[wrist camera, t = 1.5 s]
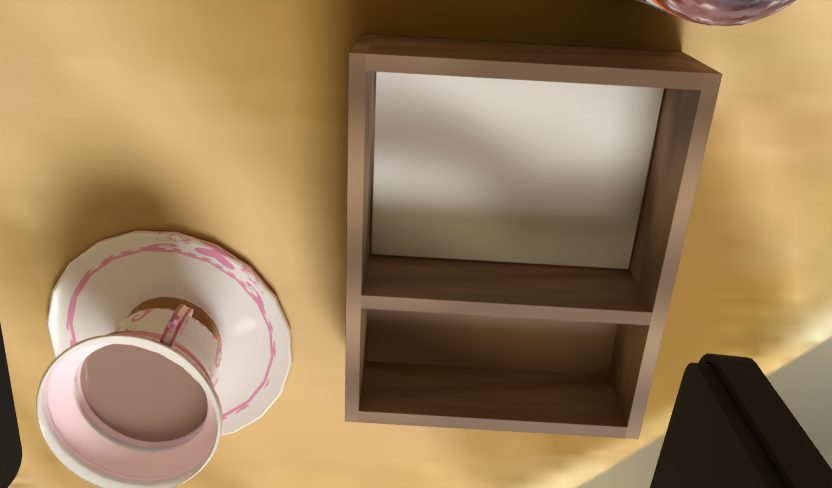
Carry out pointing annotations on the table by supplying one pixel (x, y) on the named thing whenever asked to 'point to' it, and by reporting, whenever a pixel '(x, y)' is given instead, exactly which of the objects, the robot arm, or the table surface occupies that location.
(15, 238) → the table surface
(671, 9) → the supplement bottle
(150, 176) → the table surface
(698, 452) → the robot arm
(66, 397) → the teacup
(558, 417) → the caddy
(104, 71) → the table surface
